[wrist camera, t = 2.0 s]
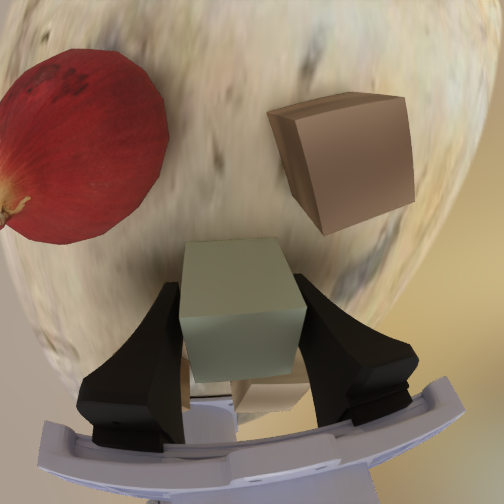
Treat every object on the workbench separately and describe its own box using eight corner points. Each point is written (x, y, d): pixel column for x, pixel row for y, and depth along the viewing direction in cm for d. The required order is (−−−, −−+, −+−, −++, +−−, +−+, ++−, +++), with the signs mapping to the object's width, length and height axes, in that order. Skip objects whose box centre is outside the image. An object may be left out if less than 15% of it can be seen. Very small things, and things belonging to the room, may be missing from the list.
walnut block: (365, 170, 12) (414, 201, 9) (291, 194, 12) (323, 236, 9) (349, 91, 10) (404, 97, 7) (266, 112, 10) (294, 120, 7)
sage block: (269, 302, 16) (290, 373, 12) (194, 308, 15) (195, 383, 11) (275, 236, 13) (306, 307, 9) (185, 241, 13) (178, 317, 9)
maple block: (278, 367, 20) (289, 410, 17) (228, 365, 19) (234, 412, 15) (298, 334, 18) (314, 382, 15) (242, 331, 17) (251, 384, 14)
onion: (38, 120, 8) (-96, 184, 1) (136, 36, 7) (27, -36, 1) (102, 213, 11) (23, 350, 5) (205, 143, 10) (201, 239, 4)
